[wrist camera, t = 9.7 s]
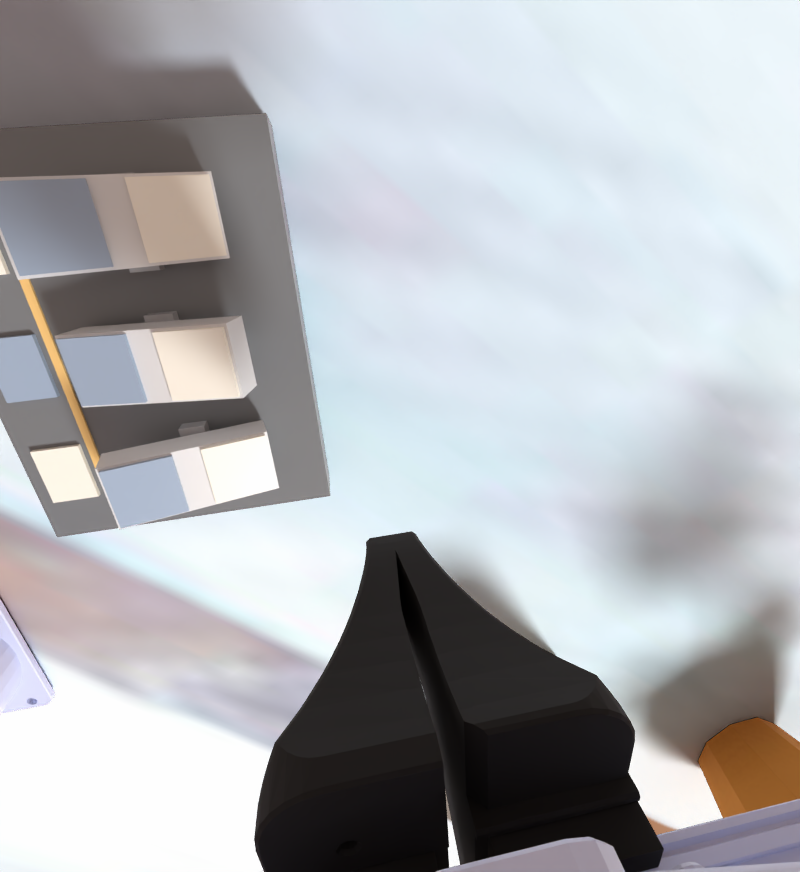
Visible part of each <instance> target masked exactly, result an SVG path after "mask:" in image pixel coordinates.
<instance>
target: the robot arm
mask: <svg viewBox="0 0 800 872" xmlns="http://www.w3.org/2000/svg"><path fill="white" fill-rule="evenodd" d="M366 546H367V549H366V560H365V565H364V571H363V575H362V579H361V583H360V587H359V590H358V594H357V597H356V600H355V603H354V606H353V609H352V612H351V614H350V617H349V620H348V622H347V625H346V627H345V629H344V632H343V634H342V636H341V638H340V641H339V643H338V645H337V647H336V649H335V651H334V653H333V655H332V657H331V659H330V661H329V663H328V665H327V666H326V668H325V670H324V672H323V674H322V675H321V677H320V679H319V680H318V682H317V683H316V685H315V687H314V688H313V690H312V691H311V693H310V694H309V696H308V698H307V699H306V701H305V702H304V704H303V705H302V707H301V708H300V710H299V711H298V713H297V714H296V715H295V717H294V718H293V719H292V721H291V722H290V723H289V725H288V726H287V727H286V729H285V730H284V731H283V733H282V734H281V735H280V737H279V738H278V739H277V741H276V742H275V744H274V747H273V750H272V753H271V756H270V759H269V762H268V765H267V769H266V772H265V776H264V780H263V784H262V788H261V793H260V798H259V803H258V810H257V819H256V829H255V838H254V840H255V847H256V852H257V855H258V857H259V860H260V862H261V865H262V867H263V870H264V872H800V799H797V800H793V801H789V802H785V803H781V804H777V805H773V806H769V807H765V808H761V809H757V810H753V811H750V812H746V813H742V814H738V815H734V816H730V817H726V818H722V819H718V820H714V821H710V822H706V823H702V824H698V825H694V826H690V827H687V828H683V829H679V830H675V831H671V832H667V833H663V834H659V835H656V834H655V832H654V830H653V828H652V827H651V825H650V823H649V821H648V819H647V817H646V816H645V814H644V812H643V810H642V808H641V807H640V805H639V803H638V801H639V799H640V794H639V791H638V789H637V787H636V786H635V784H634V782H633V780H632V779H631V777H630V775H629V773H628V770H629V766H630V761H631V756H632V752H633V747H634V742H635V730H634V728H633V726H632V724H631V721H630V720H629V718H628V717H627V715H626V713H625V712H624V710H623V709H622V707H621V706H620V704H619V703H618V701H617V700H616V699H615V698H614V696H613V695H612V694H611V692H610V691H609V690H608V689H607V688H606V686H605V685H604V684H603V683H602V681H601V680H600V679H599V678H598V676H597V675H595V674H593V673H591V672H588V671H586V670H584V669H582V668H580V667H578V666H576V665H574V664H571V663H569V662H567V661H565V660H563V659H561V658H559V657H557V656H555V655H553V654H551V653H549V652H548V651H546V650H544V649H542V648H540V647H539V646H537V645H535V644H533V643H532V642H530V641H529V640H527V639H526V638H524V637H523V636H521V635H519V634H518V633H516V632H515V631H513V630H512V629H510V628H509V627H507V626H506V625H505V624H503V623H502V622H501V621H499V620H498V619H496V618H495V617H494V616H492V615H491V614H490V613H489V612H487V611H486V610H485V609H484V608H483V607H481V606H480V605H479V604H478V603H477V602H475V601H474V600H473V599H472V598H471V597H470V596H469V595H468V594H467V593H466V592H465V591H464V590H462V589H461V588H460V587H459V586H458V585H457V584H456V583H455V582H454V581H453V580H452V579H451V578H450V576H449V575H448V574H447V573H446V572H445V571H444V570H443V569H442V568H441V567H440V566H439V564H438V563H437V562H436V561H435V560H434V559H433V557H432V556H431V555H430V554H429V552H428V551H427V550H426V549H425V547H424V546H423V544H422V543H421V542H420V540H419V539H418V537H417V536H416V534H415V533H413V532H406V533H400V534H394V535H387V536H381V537H375V538H370V539H369V540H368V541H367V542H366ZM419 677H420V678H419ZM421 684H422V685H421ZM422 687H423V688H422ZM423 691H424V692H423ZM424 694H425V695H424ZM54 696H55V692H54V690H53V689H52V687H51V685H50V684H49V682H48V680H47V678H46V677H45V675H44V673H43V672H42V670H41V668H40V666H39V665H38V663H37V661H36V659H35V658H34V656H33V654H32V653H31V651H30V649H29V647H28V646H27V644H26V642H25V641H24V639H23V637H22V635H21V634H20V632H19V630H18V629H17V627H16V625H15V623H14V622H13V620H12V618H11V616H10V615H9V613H8V611H7V610H6V608H5V606H4V604H3V603H2V601H1V599H0V715H1V713H5V712H11V711H16V710H21V709H26V708H32V707H37V706H42V705H47V704H49V703H50V702H52V700H53V698H54ZM425 697H426V698H425ZM426 701H427V702H426ZM445 790H446V794H445ZM446 795H447V800H448V804H449V810H450V814H451V820H452V825H453V830H454V835H455V840H456V845H457V850H458V855H459V860H460V865H458V866H454V867H450V868H449V859H448V847H449V841H448V825H447V810H446Z"/></svg>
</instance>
